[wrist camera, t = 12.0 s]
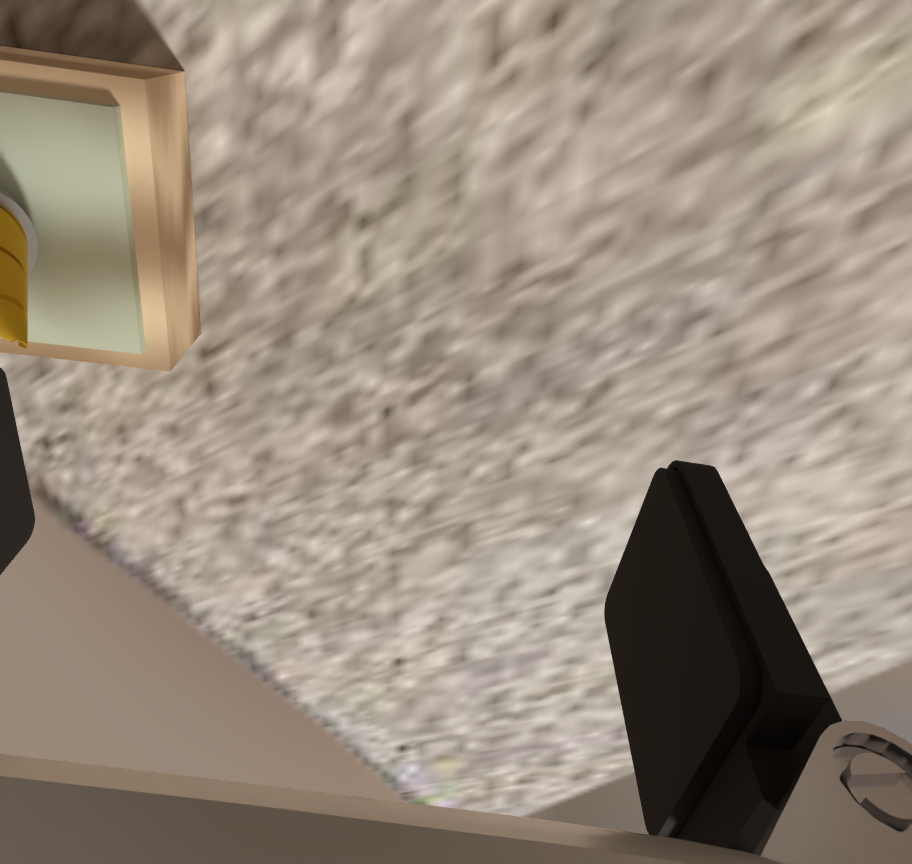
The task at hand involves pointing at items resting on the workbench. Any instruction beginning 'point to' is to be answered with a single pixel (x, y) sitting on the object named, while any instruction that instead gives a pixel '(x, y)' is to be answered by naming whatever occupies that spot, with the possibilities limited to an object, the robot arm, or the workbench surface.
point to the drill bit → (15, 268)
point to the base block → (102, 207)
